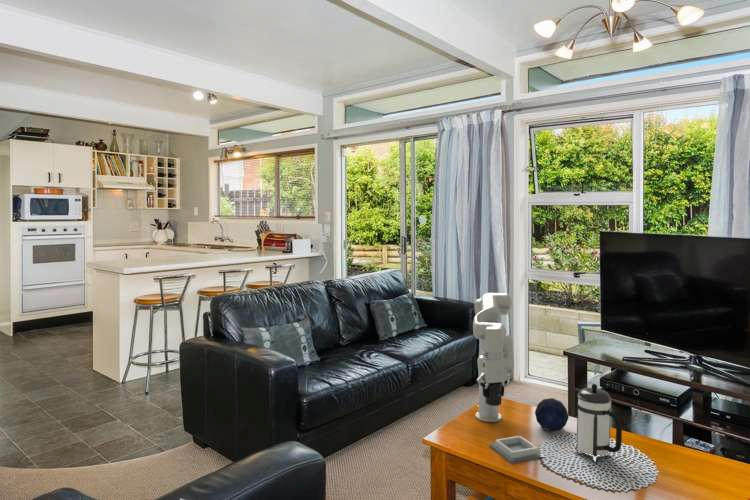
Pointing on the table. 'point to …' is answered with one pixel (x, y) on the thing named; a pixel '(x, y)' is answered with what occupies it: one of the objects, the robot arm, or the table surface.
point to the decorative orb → (551, 414)
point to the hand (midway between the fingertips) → (493, 395)
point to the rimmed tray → (515, 449)
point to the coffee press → (596, 422)
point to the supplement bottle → (494, 394)
